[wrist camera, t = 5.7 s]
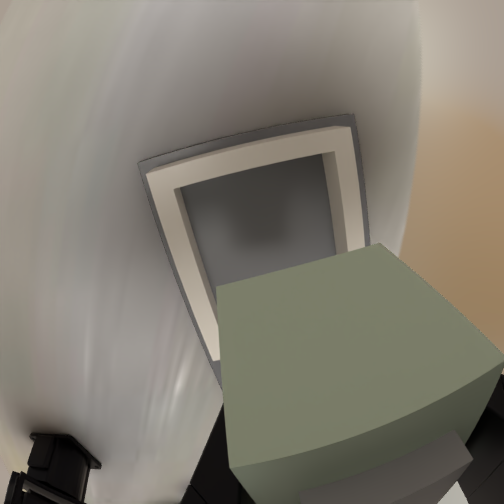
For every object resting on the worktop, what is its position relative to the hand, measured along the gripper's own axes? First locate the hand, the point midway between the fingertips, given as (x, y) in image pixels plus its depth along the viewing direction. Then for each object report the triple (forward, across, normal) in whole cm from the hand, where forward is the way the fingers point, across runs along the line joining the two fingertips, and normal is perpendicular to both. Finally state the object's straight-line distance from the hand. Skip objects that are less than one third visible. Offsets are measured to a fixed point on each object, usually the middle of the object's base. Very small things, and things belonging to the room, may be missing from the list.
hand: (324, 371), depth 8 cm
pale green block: (+1, 0, 0) cm, 1 cm away
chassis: (+10, 0, +4) cm, 11 cm away
